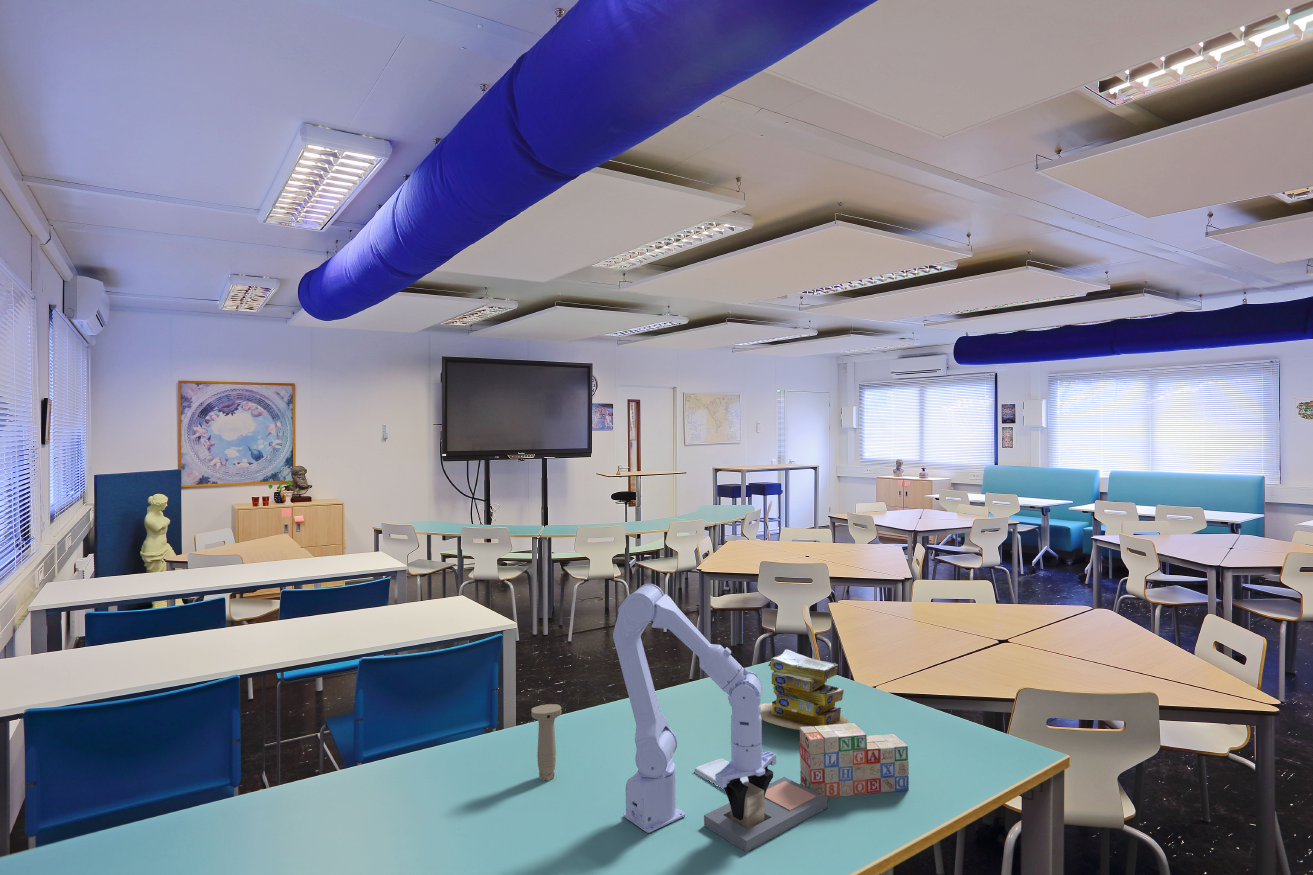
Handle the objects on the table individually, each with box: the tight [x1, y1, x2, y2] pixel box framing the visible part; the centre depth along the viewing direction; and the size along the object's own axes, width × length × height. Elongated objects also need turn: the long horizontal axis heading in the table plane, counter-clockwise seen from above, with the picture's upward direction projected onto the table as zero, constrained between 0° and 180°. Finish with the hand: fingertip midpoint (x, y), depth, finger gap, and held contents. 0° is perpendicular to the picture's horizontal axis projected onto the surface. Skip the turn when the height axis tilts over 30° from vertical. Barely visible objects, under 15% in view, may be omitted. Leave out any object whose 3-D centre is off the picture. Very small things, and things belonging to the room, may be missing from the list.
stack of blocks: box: [799, 722, 910, 798], centre depth 143 cm, size 21×6×12 cm, turn 97°
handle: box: [530, 703, 562, 782], centre depth 148 cm, size 5×6×15 cm
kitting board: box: [703, 776, 828, 853], centre depth 132 cm, size 23×11×2 cm, turn 129°
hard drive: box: [693, 758, 749, 790], centre depth 148 cm, size 2×8×12 cm
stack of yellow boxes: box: [760, 648, 850, 731], centre depth 176 cm, size 25×25×17 cm
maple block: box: [730, 781, 764, 829], centre depth 129 cm, size 4×4×7 cm
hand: (747, 812), depth 129 cm, fingers closed on maple block, 4 cm apart
